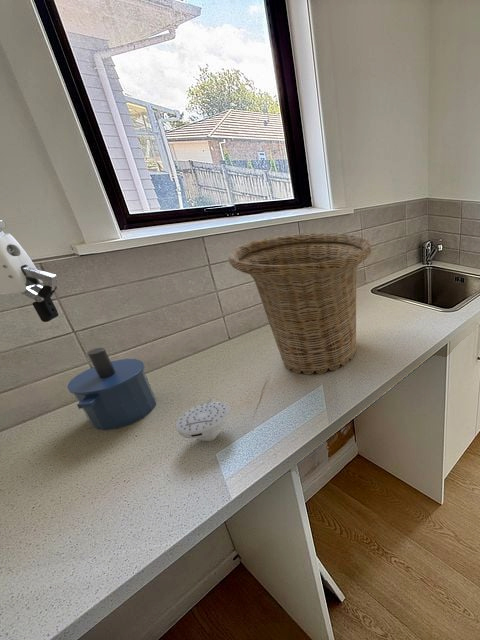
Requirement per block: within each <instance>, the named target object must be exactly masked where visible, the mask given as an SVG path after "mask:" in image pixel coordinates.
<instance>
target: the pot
mask: <svg viewBox="0 0 480 640" xmlns="http://www.w3.org/2000/svg"><path fill="white" fill-rule="evenodd" d="M73 395H74V397H75V398H76V400H77V402H78V403H77V404H76V406H77V407H78V409H82V410H83V412H84V414H85V416H86V418H87V420H88V421H89V423H90V425H91V426H92V427H93V428H94V429H95V430H99V431H110V430H111V431H112V430H116V429H121V428H123V427H126V426H130V425H132V424H134V423H135V422H137V421H140V420H142V419H143V418H145V417H146V416H147V415H149V414H150V413H151V412H152V411H153V410H154V409H155V408H156V406H157V398H156V395H155V393H154V391H153V389H152V387H151V384H150V381H149V380H148V378H147V375H146V372H145V371H144V370H143V372H142V373H141V374H140V375H139V376H137V377H136V378H134V379H133V380H131V381H129V382H128V383H126V384H123V385H121V386H119V387H116V388H114V389H111V390H107V391H104V392H100V393H95V394H88V395H77V394H73Z"/></svg>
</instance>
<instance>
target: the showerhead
mask: <svg viewBox="0 0 480 640" xmlns="http://www.w3.org/2000/svg"><path fill="white" fill-rule="evenodd" d="M231 413H232V412H231V410H230V406H229V405H228V404H227V403H225V402H222V401H212V397H207V402H204V403H201V404H199V405H196V406H194V407H192V408H190V409H188V410H187V411H185V412H184V413H182V415H181V416H180V417H179V418H178V419H177V420H176V423H175V430H176V431H177V433H178V435H179V436H180V437H182V438H185V439H197V440H198V441H206V442H212V441H214V440H215V439H216V438H217V437H218V435H219V434H220V433H221V431H222V430H223V427H224V426H225V425H226V424H227V423H228V422H229V420H230V419H231Z"/></svg>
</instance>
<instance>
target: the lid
mask: <svg viewBox="0 0 480 640" xmlns="http://www.w3.org/2000/svg"><path fill="white" fill-rule="evenodd" d="M86 355H87V357H88V359H89V361H90V363H91V365H92V367H89V368H88V369H86V370H84V371H82V372H80V373H79V374H77V375H75V376H74V377H73V378H72V379H71V380H70V381H69V382H68V383H67V387H66V388H67V390H68V391H69V393H71V394H72V395H74V394H77V395H88V394H95V393H100V392H104V391H107V390H111V389H114V388H116V387H119V386H121V385H123V384H126V383H128V382H129V381H131V380H133V379H134V378H136V377H137V376H139V375H140V374H141V373H142V372H143V371H144V370H145V368H146V367H145V363H144V362H143V361H142V360H140V359H137V358H122V359H116V360H111V359H110V357H109V355H108V352H107V351H106V348H104V347H96V348H92V349H90V350H89V351H87V352H86Z"/></svg>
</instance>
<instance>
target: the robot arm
mask: <svg viewBox="0 0 480 640" xmlns="http://www.w3.org/2000/svg"><path fill="white" fill-rule="evenodd" d="M6 228H7V224H6V222H5V221H4V220H0V296H3V295H18V294H22V295H24V296H25V297H28V298H29V299H31V300H33V301H34V302H32V306H33V308H34V310H35V312H36V313H37V315H38V317H39V318H40V320H41V322H42V323H48V322H50V321H52V320H54V319H55V318H57V317H59V312H58V309H57V308H56V305H55V303H54V301H53V299H52V298H51V297H53V296H54V293H55V292H56V290H57V289H58V286H57V284H58V275H56V274H54V273H51V272H48V271H44V270H41V269H37V267H36V265H35V263H34V262H33V261H32V259H31V257H30V256H29V254H28V253H27V251H26V250H25V249H24V248H23V247H22V245H21V244H20V243H19V242H18V241H17V240H16V238H15V237H14V236H13V235H12V234H11V233H5V232H4V230H3V229H6Z"/></svg>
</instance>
